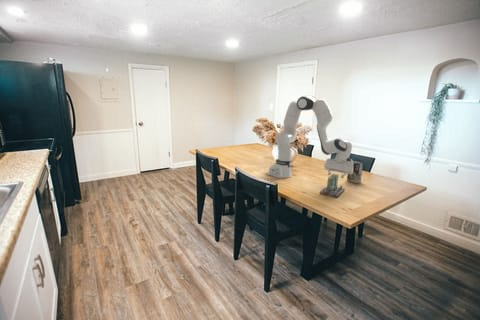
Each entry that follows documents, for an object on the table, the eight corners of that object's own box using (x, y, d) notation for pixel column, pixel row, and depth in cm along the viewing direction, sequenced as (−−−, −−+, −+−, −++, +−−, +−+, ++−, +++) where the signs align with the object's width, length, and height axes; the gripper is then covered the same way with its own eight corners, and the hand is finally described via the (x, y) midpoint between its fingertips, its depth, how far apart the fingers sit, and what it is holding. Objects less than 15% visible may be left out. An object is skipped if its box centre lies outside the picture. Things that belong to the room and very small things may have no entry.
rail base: (319, 193, 175) (321, 177, 172) (328, 186, 189) (329, 171, 186) (336, 198, 168) (339, 180, 165) (344, 190, 182) (346, 174, 179)
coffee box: (361, 181, 201) (363, 162, 197) (357, 183, 197) (360, 164, 193) (350, 178, 208) (352, 160, 204) (346, 180, 204) (348, 161, 200)
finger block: (329, 189, 179) (331, 175, 176) (331, 187, 183) (333, 173, 180) (335, 190, 177) (336, 176, 174) (336, 189, 180) (338, 174, 177)
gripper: (326, 155, 188) (320, 171, 183) (355, 160, 175) (349, 176, 170) (327, 160, 192) (322, 175, 187) (355, 165, 180) (350, 181, 175)
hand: (335, 176), depth 179 cm, fingers open, 8 cm apart
